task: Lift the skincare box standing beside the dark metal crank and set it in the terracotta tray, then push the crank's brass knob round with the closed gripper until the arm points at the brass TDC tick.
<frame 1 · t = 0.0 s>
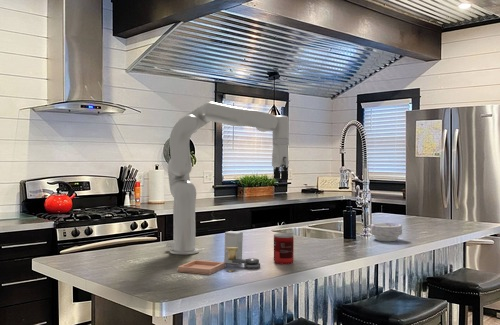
hand: (280, 179, 234), 31 cm above the counter, tool pointing down, fingers open, 9 cm apart
crank hub: (252, 267, 190), on the counter
crank: (242, 255, 191), point 5 cm above the counter, hinge at 200.0°
skincare box: (233, 263, 199), on the counter
tdc tick: (231, 271, 183), on the counter
paper bowls: (386, 240, 253), on the counter
tray: (202, 269, 187), on the counter
canned food: (283, 263, 199), on the counter
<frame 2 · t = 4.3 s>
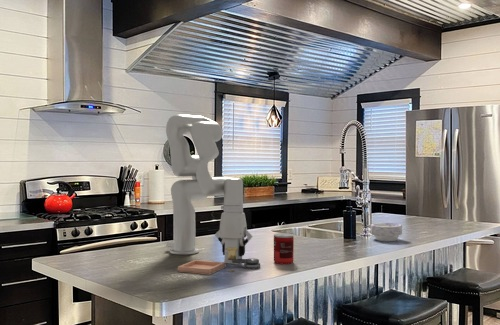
hand: (233, 254, 199), 3 cm above the counter, tool pointing down, fingers closed on skincare box, 6 cm apart
skincare box: (233, 263, 199), on the counter, touching gripper
everything else where it was.
when the fingers open (5 cm above the counter, at t = 8.4 s): skincare box drops 1 cm, resting on tray.
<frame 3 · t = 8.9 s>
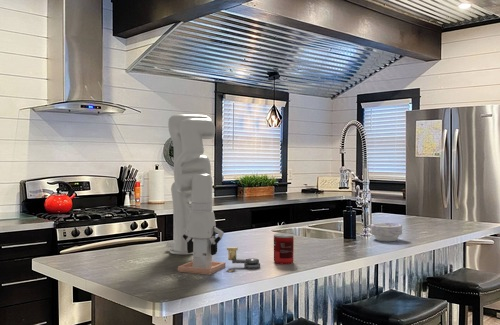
hand: (202, 253, 187), 6 cm above the counter, tool pointing down, fingers open, 9 cm apart
skincare box: (202, 268, 187), resting on tray
everything else where it was.
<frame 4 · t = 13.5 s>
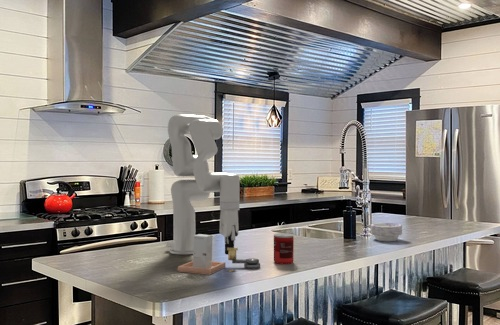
hand: (229, 253, 194), 4 cm above the counter, tool pointing down, fingers closed
crank: (242, 255, 190), point 5 cm above the counter, hinge at 201.5°, touching gripper
everything else where it was.
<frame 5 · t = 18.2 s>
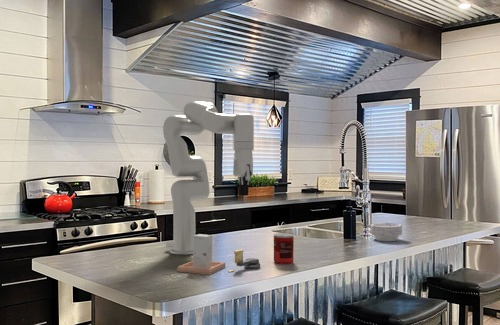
hand: (243, 195, 190), 27 cm above the counter, tool pointing down, fingers closed
crank: (246, 256, 188), point 5 cm above the counter, hinge at 251.5°
everything else where it was.
at the end: skincare box inside the target area on the tray (0.3 cm from its centre), point 0.3 cm above the tray's base; crank at +252° (first picture: +200°); the gripper is holding nothing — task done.
